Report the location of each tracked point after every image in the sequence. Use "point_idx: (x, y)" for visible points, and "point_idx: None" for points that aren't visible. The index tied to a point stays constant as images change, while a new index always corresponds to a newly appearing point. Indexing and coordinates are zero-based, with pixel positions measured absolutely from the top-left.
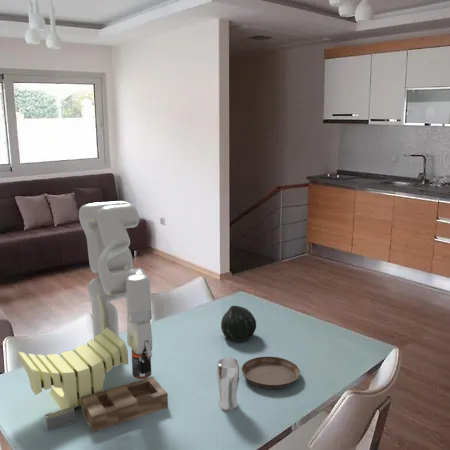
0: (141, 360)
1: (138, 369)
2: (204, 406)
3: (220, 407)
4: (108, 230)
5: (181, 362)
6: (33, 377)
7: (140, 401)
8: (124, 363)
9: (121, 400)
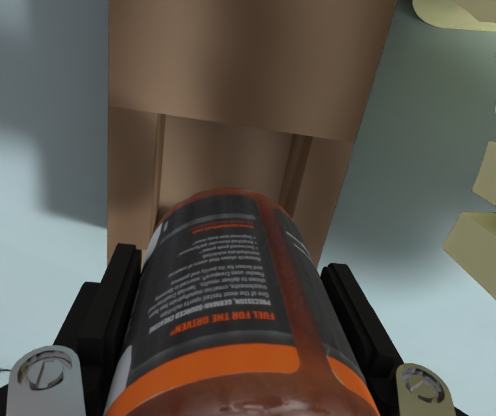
0: (74, 370)
1: (164, 254)
2: (50, 338)
3: (3, 373)
4: None
5: None
6: None
7: (111, 123)
8: (462, 226)
9: (198, 24)
